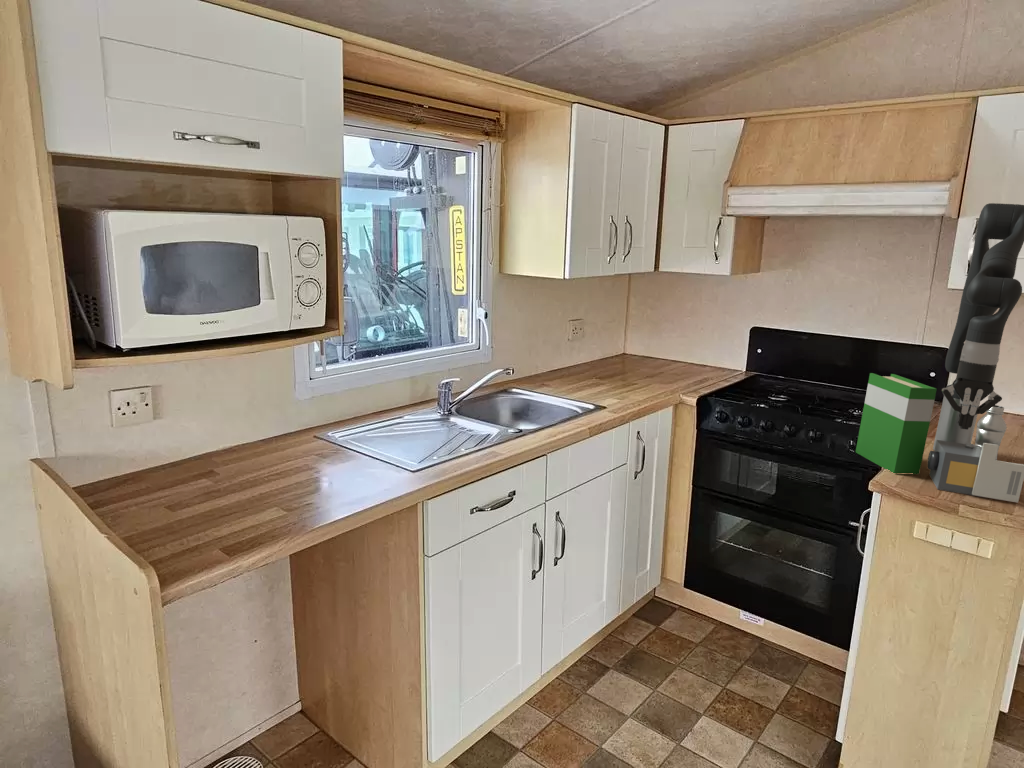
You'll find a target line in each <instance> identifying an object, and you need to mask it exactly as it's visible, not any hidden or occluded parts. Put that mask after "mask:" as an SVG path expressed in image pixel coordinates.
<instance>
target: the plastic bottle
mask: <svg viewBox="0 0 1024 768" xmlns="http://www.w3.org/2000/svg"><path fill="white" fill-rule="evenodd" d="M1004 410H1005V407H1004V406H1001V405H997V404H996V405H994V406H993V407H992V408H990V409H989V410H987V411H986V412H985V413H986V414H985V413H984V414H983V416H981V417H980V418H979V419H978V420H977V421H976V431H975V432H976V433H975V441H974V445H976V446H980V447H981V448H982V446H983V443H989V444H996V445H998V451H997V455H996V459H995V460H997V461H998V453H999V450H1000V446H1001V443H1002V441H1003V439H1004V436H1005V433H1006V431H1007V428H1008V427H1007V423H1006V422H1005V419H1004V418H1003V415H1004V414H1005V413H1004V412H1005V411H1004Z"/></svg>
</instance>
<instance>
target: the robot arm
mask: <svg viewBox="0 0 1024 768" xmlns="http://www.w3.org/2000/svg"><path fill="white" fill-rule="evenodd" d="M977 221H978V222H977V226H976V227H977V228H976V233H975V238H974V244H973V251H972V255H971V259H970V260H971V261H970V265H969V269H968V272H967V276H966V279H965V282H964V287H963V290H962V294H961V299H960V304H959V309H958V314H957V319H956V323H955V327H954V330H953V333H952V337H951V341H950V343H949V346H948V350H947V353H946V357H945V361H944V362H945V363H944V367H945V370H946V372H948V373H951V374H956V375H955V380H953V381H952V384H949V385H946V387H942V388H941V390H940V391H941V392H942V394H943V399H942V404H941V409H940V413H939V419H938V422H937V423H938V424H937V427H936V432H935V436H934V442H933V446H932V450H933V451H934V450H935V445H936V440H942V441H949V442H955V443H962V444H966V443H970V444H972V440H973V436H974V432H975V428H976V424H977V419H978V415H984V414H985V413H987V412H986V411H987V410H989V409H990V408H992V407H993V406H994V405H997V404H998V403H1000V402H1001V401H1002V399H1003V397H1002V396H1001V395H999V394H998V393H997V392H995V391H994V390H995V389H994V388H995V387H994V385H993V384H994V378H995V374H996V371H997V366H998V363H999V360H1000V359H999V357H1000V350H1001V343H1002V340H1003V339H1002V338H1003V334H1004V330H1005V326H1006V324H1007V321H1008V319H1009V317H1010V315H1011V313H1012V312H1013V310H1014V308H1015V307H1016V305H1017V303H1018V301H1019V300H1020V298H1021V296H1022V292H1023V286H1022V283H1021V282H1020V281H1019V280H1018V279H1017V278H1014V277H1015V274H1016V268H1017V261H1018V257H1019V254H1020V253H1021V251H1022V250H1021V249H1022V247H1023V245H1024V204H1017V203H1016V204H1014V203H998V202H997V203H994V202H992V203H986V204H985V205H984V206H983V208H982V209H981V211H980V214H979V217H978V220H977ZM990 240H998V241H999V240H1000V241H999V242H997V243H995V244H994V245H992V246H991V247H990V245H989V241H990ZM985 398H987V400H986V401H984V402H982V404H981V401H983V400H984V399H985Z"/></svg>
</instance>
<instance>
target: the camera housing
mask: <svg viewBox="0 0 1024 768" xmlns="http://www.w3.org/2000/svg"><path fill="white" fill-rule="evenodd" d="M981 450H982V448H981V447H980V446H976V445H975V443H974V444H973V443H971V444H970V443H966V444H962V443H955V442H949V441H942V440H936V445H935V450H934V449H933V450H930V451H929V452H928V456H927V464H926V465H927V470H929V474H928V475H929V477H930V478H931V481H932V482H933V484H934V485H935V487H936V489H937V490H939V491H940V490H941V491H947V492H950V493H957V494H962V495H967V496H968V495H969V496H973V497H974V496H976V495H972V490H973V485H974V481H975V477H976V472H977V468H978V464H979V459H980V455H981ZM976 497H977V496H976ZM979 497H980V498H983V497H982V496H979Z"/></svg>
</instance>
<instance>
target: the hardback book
mask: <svg viewBox="0 0 1024 768" xmlns="http://www.w3.org/2000/svg"><path fill="white" fill-rule="evenodd" d="M936 395H937V388H936V387H934V386H929V385H926V384H924V383H921V382H918V381H915V380H912V379H910V378H906V377H904V376H900V375H898V374H895V373H890V376H886V375H885V376H884V375H883V376H881V375H879V374H877V373H873V372H869V376H868V382H867V387H866V394H865V398H864V405H863V410H862V415H861V421H860V425H859V430H858V436H857V443H856V448H855V453H856V454H858V455H859V456H861V457H862V458H865V459H866V460H869V461H870V462H872V463H873V464H876V465H878V467H881V468H882V469H885V470H886V469H888V470H890V471H891V472H893V473H913V474H912V475H920V473H921V466H922V462H923V456H924V454H925V453H924V451H925V448H926V443H927V438H928V433H929V429H930V424H931V419H932V415H933V409H934V406H935V405H934V404H935V399H936ZM888 470H887V471H888ZM890 471H889V472H890ZM891 472H890V473H891ZM893 473H892V474H893Z"/></svg>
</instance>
